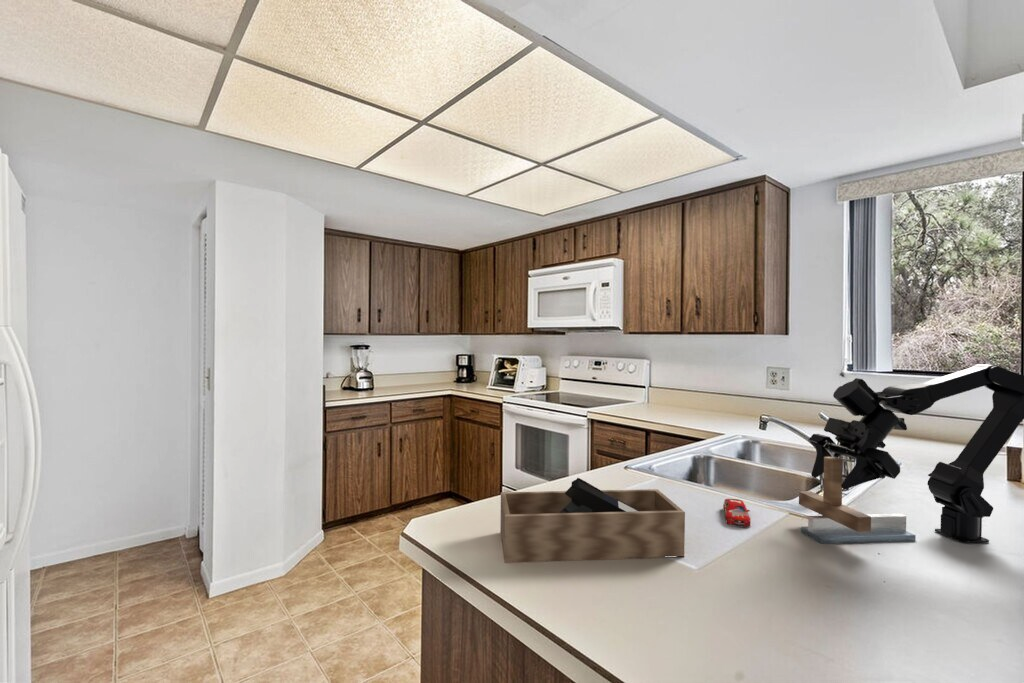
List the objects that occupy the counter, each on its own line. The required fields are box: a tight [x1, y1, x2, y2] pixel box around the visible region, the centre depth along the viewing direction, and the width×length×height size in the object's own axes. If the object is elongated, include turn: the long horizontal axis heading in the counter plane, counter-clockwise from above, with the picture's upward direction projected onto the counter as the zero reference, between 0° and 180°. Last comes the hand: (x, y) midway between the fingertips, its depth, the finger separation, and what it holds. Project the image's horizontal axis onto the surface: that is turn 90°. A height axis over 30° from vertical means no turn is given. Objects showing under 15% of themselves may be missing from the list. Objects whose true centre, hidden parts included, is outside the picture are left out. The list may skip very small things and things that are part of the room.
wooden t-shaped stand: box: [798, 457, 871, 532], centre depth 105 cm, size 16×3×13 cm, turn 9°
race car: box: [722, 498, 751, 528], centre depth 115 cm, size 13×5×4 cm, turn 159°
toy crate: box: [499, 488, 686, 564], centre depth 100 cm, size 36×14×9 cm, turn 95°
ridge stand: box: [800, 513, 916, 544], centre depth 105 cm, size 22×6×4 cm, turn 95°
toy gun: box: [560, 477, 639, 513], centre depth 102 cm, size 3×24×15 cm, turn 108°
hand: (827, 482), depth 104 cm, fingers open, 8 cm apart
